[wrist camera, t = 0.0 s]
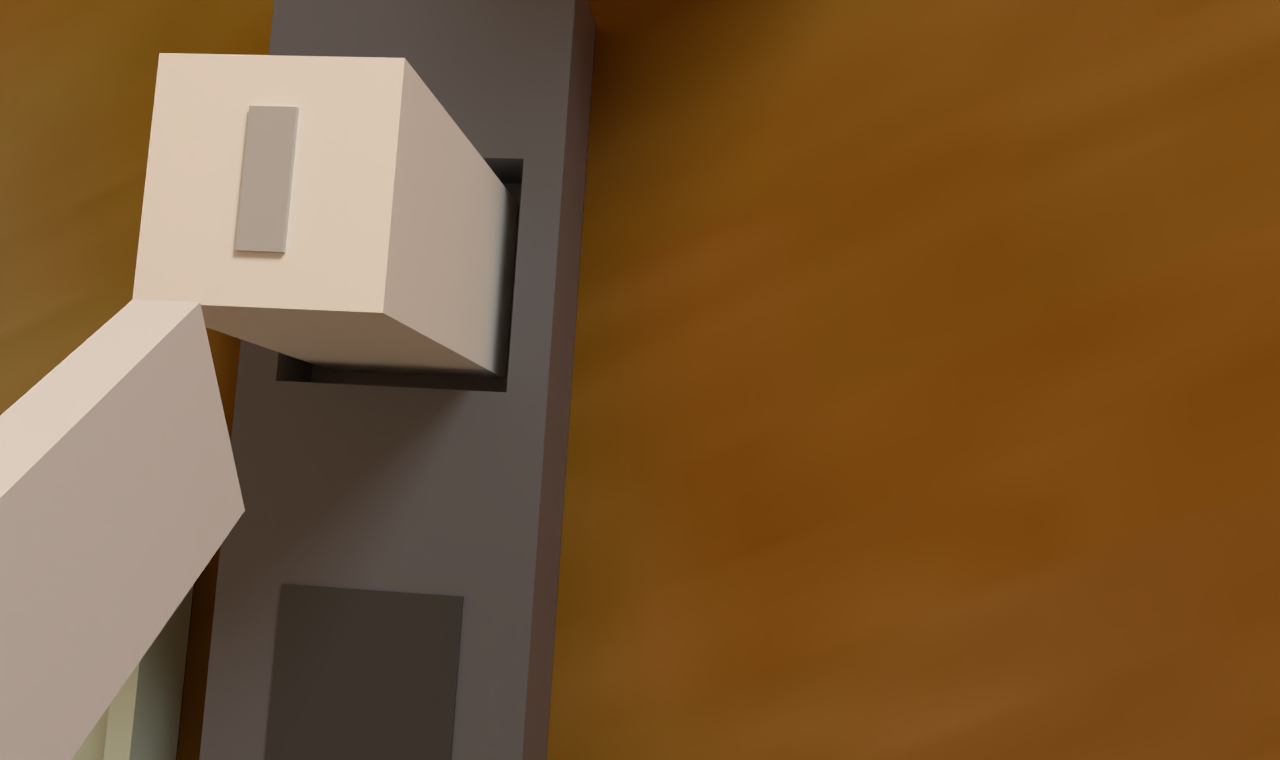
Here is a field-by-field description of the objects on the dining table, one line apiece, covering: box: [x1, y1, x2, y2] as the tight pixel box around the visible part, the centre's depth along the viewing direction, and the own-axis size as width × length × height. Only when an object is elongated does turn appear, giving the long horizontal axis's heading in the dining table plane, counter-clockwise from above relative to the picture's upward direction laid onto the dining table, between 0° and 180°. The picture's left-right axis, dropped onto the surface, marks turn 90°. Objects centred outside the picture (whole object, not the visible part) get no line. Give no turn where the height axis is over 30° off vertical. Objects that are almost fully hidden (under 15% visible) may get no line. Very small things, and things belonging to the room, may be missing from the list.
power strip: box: [199, 0, 596, 760], centre depth 26 cm, size 30×7×4 cm, turn 176°
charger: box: [132, 53, 518, 379], centre depth 24 cm, size 4×4×9 cm
